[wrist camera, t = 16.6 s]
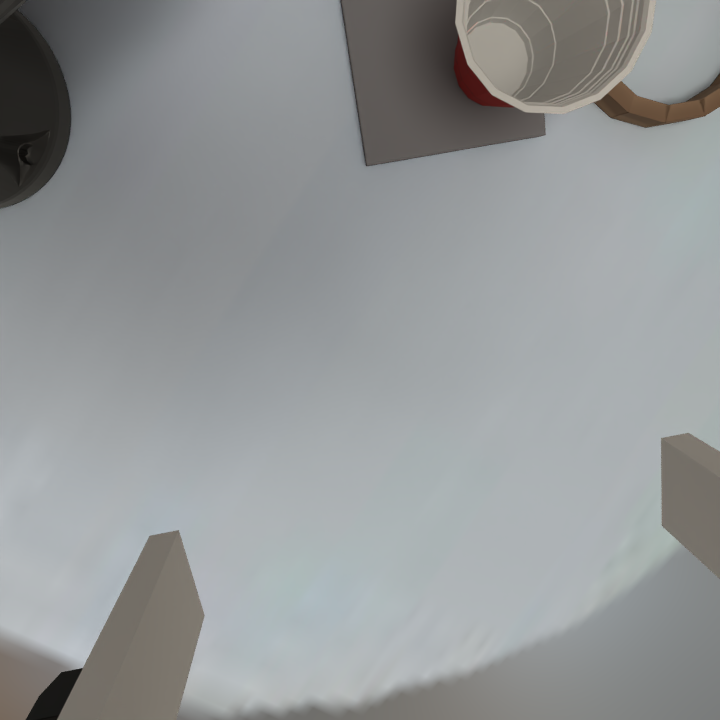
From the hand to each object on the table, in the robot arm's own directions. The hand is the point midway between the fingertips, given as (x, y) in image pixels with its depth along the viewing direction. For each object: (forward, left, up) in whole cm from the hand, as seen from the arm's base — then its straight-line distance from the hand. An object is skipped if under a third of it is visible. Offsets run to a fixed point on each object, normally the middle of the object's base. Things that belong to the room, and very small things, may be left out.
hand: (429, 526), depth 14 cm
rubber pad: (+10, +18, -32) cm, 38 cm away
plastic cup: (+13, +17, -31) cm, 38 cm away
